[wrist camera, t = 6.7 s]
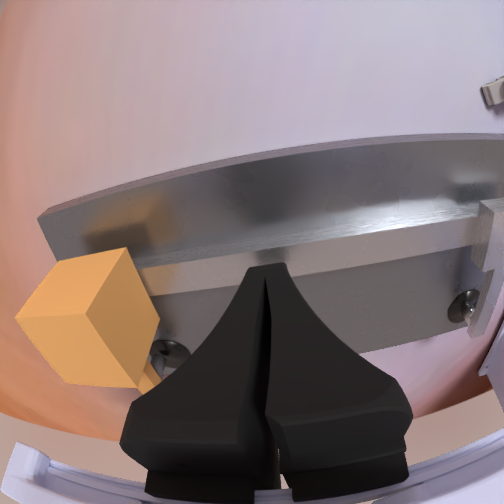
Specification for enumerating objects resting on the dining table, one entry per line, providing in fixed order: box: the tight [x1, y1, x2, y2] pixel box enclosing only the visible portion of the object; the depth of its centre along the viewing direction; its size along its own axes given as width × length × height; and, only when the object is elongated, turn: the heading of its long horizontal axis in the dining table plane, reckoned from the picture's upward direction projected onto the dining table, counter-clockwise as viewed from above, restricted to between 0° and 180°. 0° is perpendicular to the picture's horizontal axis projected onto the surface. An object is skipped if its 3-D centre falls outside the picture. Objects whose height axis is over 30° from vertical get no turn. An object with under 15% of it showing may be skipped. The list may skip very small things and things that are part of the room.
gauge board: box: [37, 133, 504, 374], centre depth 14 cm, size 12×24×3 cm, turn 101°
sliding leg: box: [15, 247, 167, 395], centre depth 13 cm, size 8×4×5 cm, turn 11°
